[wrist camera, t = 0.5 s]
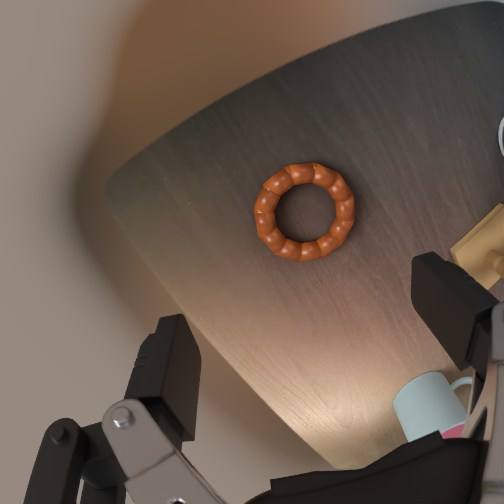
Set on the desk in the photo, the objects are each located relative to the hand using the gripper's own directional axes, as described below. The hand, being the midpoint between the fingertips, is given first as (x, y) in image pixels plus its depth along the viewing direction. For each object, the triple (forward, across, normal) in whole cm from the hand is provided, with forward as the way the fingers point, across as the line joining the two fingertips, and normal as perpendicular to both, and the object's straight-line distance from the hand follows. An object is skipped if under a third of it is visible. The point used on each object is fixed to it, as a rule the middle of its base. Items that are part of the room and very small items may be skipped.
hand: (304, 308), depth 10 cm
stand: (+17, -24, +12) cm, 32 cm away
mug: (+17, -19, +34) cm, 42 cm away
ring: (+16, -3, +3) cm, 16 cm away
